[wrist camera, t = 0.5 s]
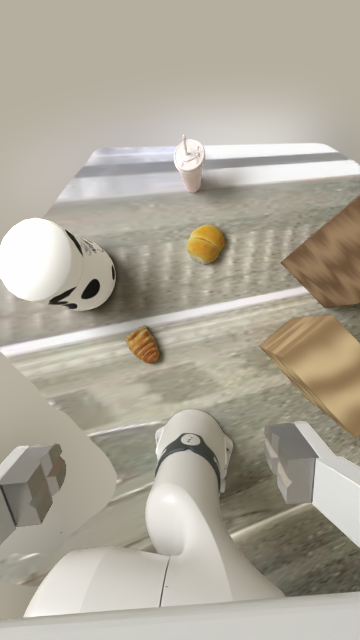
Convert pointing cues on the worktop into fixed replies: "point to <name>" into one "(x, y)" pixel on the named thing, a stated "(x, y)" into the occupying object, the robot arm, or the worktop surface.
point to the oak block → (321, 365)
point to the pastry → (143, 345)
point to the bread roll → (205, 244)
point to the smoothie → (190, 163)
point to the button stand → (331, 259)
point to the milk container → (55, 266)
